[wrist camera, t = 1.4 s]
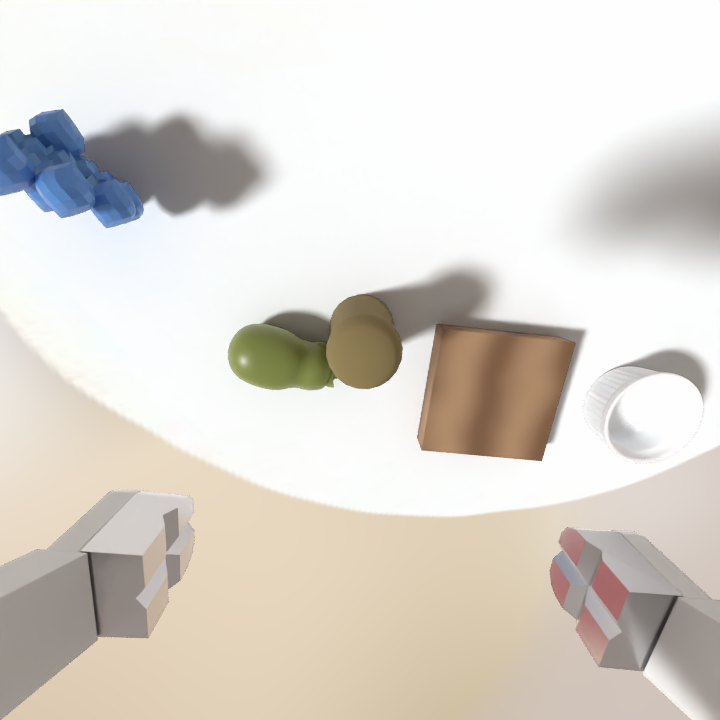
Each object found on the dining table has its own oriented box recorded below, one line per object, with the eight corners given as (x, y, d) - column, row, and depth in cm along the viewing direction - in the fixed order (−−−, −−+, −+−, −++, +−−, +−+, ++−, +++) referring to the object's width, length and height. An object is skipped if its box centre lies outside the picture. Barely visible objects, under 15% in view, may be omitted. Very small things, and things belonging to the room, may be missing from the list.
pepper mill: (319, 311, 32) (300, 334, 21) (378, 283, 31) (390, 294, 20) (346, 367, 33) (342, 415, 23) (403, 342, 33) (426, 380, 22)
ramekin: (631, 342, 33) (670, 353, 29) (680, 400, 35) (724, 419, 31) (557, 403, 35) (585, 422, 30) (608, 456, 36) (640, 481, 32)
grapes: (193, 173, 28) (82, 111, 17) (172, 251, 30) (57, 243, 18) (51, 107, 27) (-177, -9, 15) (36, 192, 29) (-179, 144, 17)
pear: (230, 322, 26) (352, 353, 29) (241, 310, 31) (344, 338, 34) (216, 387, 28) (333, 411, 30) (228, 366, 33) (328, 388, 35)
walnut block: (559, 337, 33) (575, 343, 30) (529, 447, 36) (541, 460, 33) (436, 324, 32) (443, 329, 30) (417, 437, 35) (421, 450, 33)
